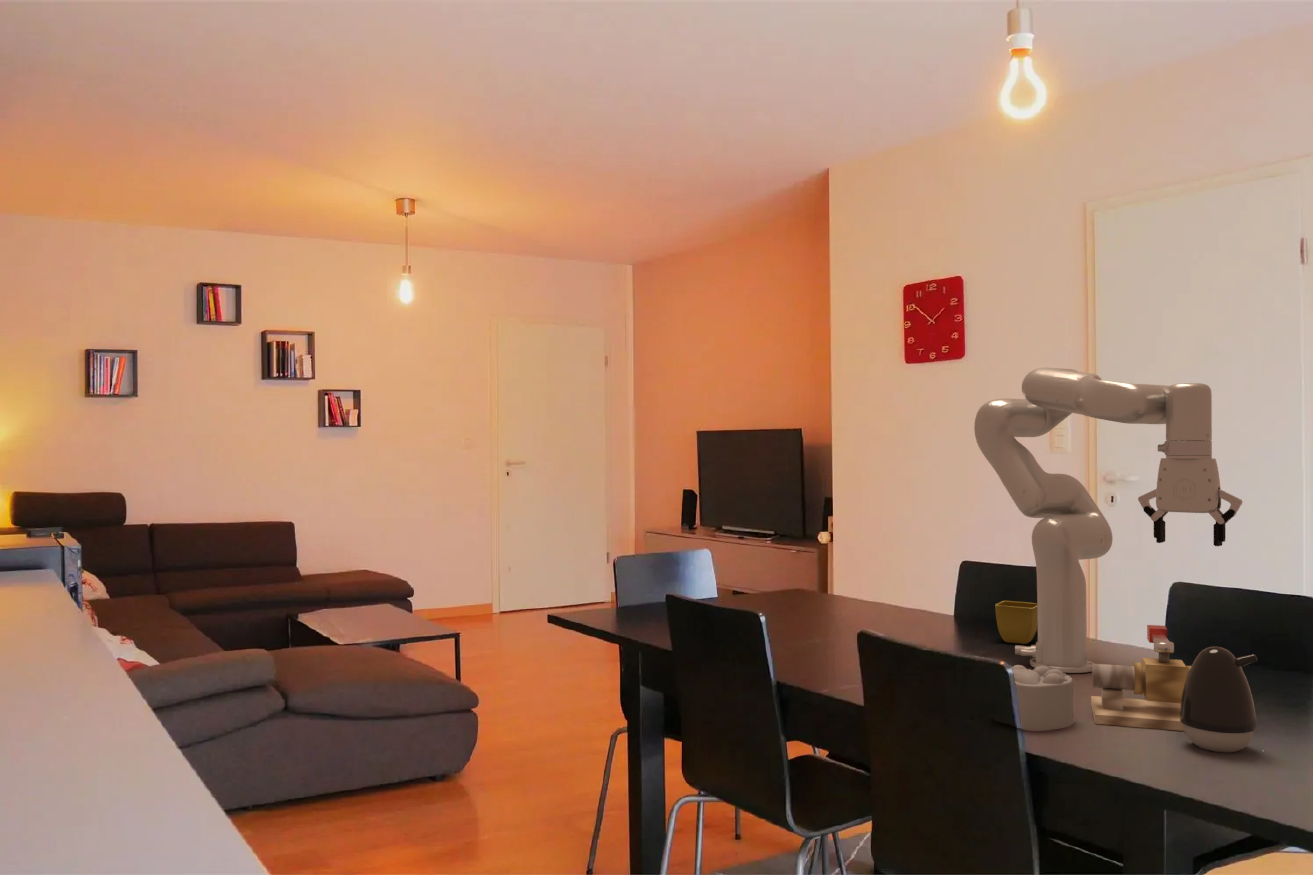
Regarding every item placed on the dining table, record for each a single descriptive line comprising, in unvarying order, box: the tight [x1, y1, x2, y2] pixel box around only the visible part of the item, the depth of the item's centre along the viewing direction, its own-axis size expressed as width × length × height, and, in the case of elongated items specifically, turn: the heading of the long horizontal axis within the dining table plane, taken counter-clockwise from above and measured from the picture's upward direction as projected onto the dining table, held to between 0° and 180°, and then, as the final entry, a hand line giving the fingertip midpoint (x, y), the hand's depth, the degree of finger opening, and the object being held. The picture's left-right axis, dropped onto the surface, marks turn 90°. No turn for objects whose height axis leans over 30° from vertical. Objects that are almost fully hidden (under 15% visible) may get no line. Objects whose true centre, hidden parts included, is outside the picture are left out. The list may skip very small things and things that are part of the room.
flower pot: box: [994, 600, 1038, 645], centre depth 244 cm, size 9×9×9 cm
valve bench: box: [1090, 652, 1192, 732], centre depth 173 cm, size 22×14×11 cm, turn 70°
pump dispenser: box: [1180, 646, 1258, 754], centre depth 156 cm, size 10×10×15 cm
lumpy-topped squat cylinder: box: [1011, 664, 1074, 732], centre depth 172 cm, size 10×13×9 cm
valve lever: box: [1146, 624, 1175, 654], centre depth 178 cm, size 14×3×2 cm, turn 160°
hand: (1188, 543), depth 190 cm, fingers open, 9 cm apart
